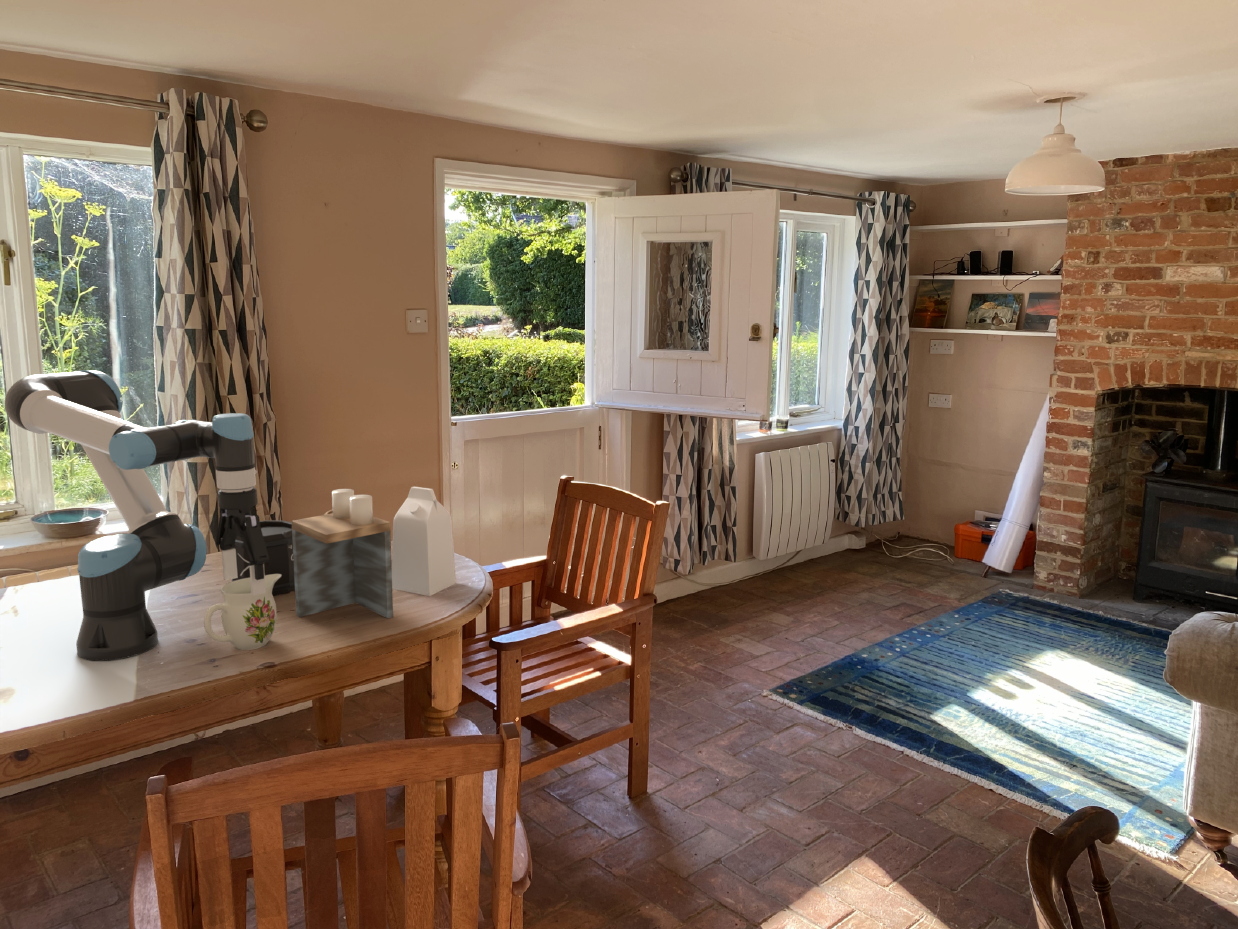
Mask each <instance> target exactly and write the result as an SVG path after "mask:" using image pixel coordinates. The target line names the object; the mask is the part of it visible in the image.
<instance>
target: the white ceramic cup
mask: <svg viewBox="0 0 1238 929" xmlns="http://www.w3.org/2000/svg"><path fill="white" fill-rule="evenodd" d="M349 501H350V524H352V525H369V524H372V523H373V516H374V512H373V495H370V494H354V496H351V497H349Z"/></svg>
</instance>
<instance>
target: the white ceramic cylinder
mask: <svg viewBox="0 0 1238 929" xmlns="http://www.w3.org/2000/svg"><path fill="white" fill-rule="evenodd" d="M354 495H355V490H354V489H353V488H352V489H351V488H338V489H333V490H332V491H331V499H332V500H331V503H332V504H331V505H332V507H331V508H332V509H331V510H333V518H337V519H346V518H350V501H349V497H351V496H354Z"/></svg>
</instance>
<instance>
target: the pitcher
mask: <svg viewBox="0 0 1238 929" xmlns="http://www.w3.org/2000/svg"><path fill="white" fill-rule="evenodd" d="M280 577H281V574H271V575H265V588H266V592H265V593H261V594H257V595H251V581H250V578H244V579H240V580H236V581H232V580H231V581H230V582H227V583H225V584H224V585H222V586H221V588H220V589H221V594H222V597H223V602H222V603H215V604H213V605H211V606H210V607H209V608H208V609H207V610H206V612H205V616H204V622H203V624H204V626H203V627H204V630H205V633H206V635H207V636H208V637H209V638H210V639H211V640H213V641H215V642H217V643H218V642H219V643H230V644H231V645H233V647H234V648H235V649H237V650H243V651H251V650H255V649H260V648H262V647H265V646H266V645H268V642H269V641H270V639H272V636H273V634H274V631H275V628H276V623H277V604H276V601H275V598H274V596H273V595H272V589H273V586H274V583H275V582H276V581H277V580H278V579H279V578H280ZM218 610H219V611H221V612H220V614H221V623H222V627H223V631H224V633H225V635H220V634H217V633H215V631H213V628H212V617H213V615H214V613H216V611H218Z"/></svg>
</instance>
